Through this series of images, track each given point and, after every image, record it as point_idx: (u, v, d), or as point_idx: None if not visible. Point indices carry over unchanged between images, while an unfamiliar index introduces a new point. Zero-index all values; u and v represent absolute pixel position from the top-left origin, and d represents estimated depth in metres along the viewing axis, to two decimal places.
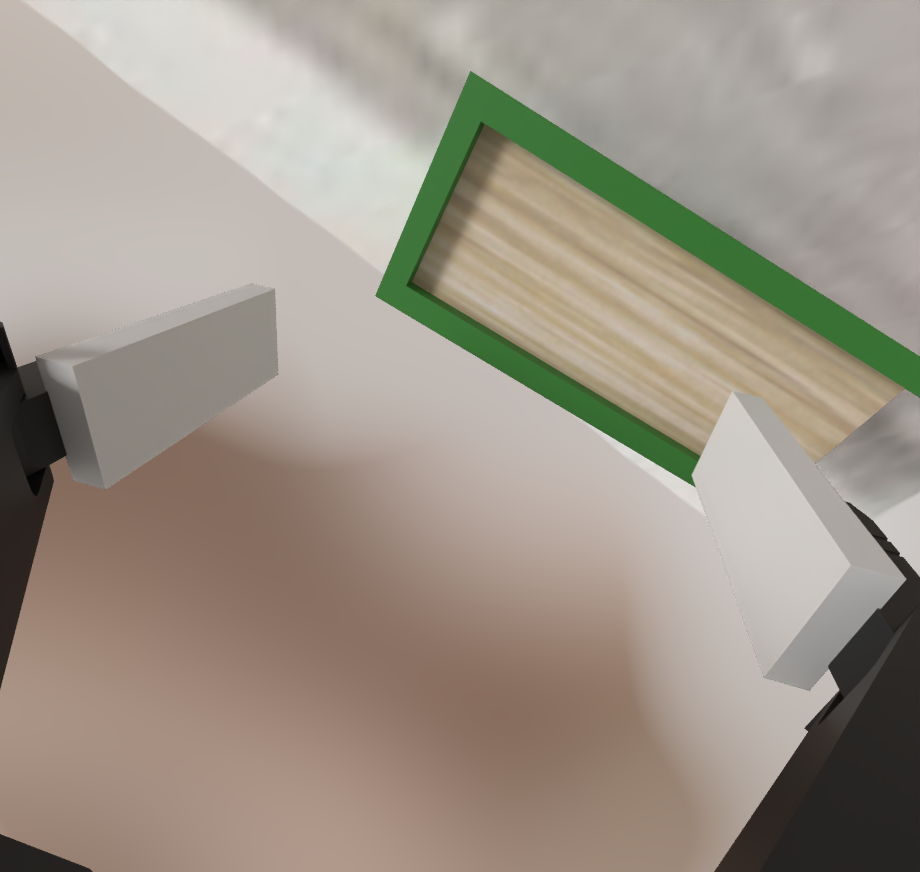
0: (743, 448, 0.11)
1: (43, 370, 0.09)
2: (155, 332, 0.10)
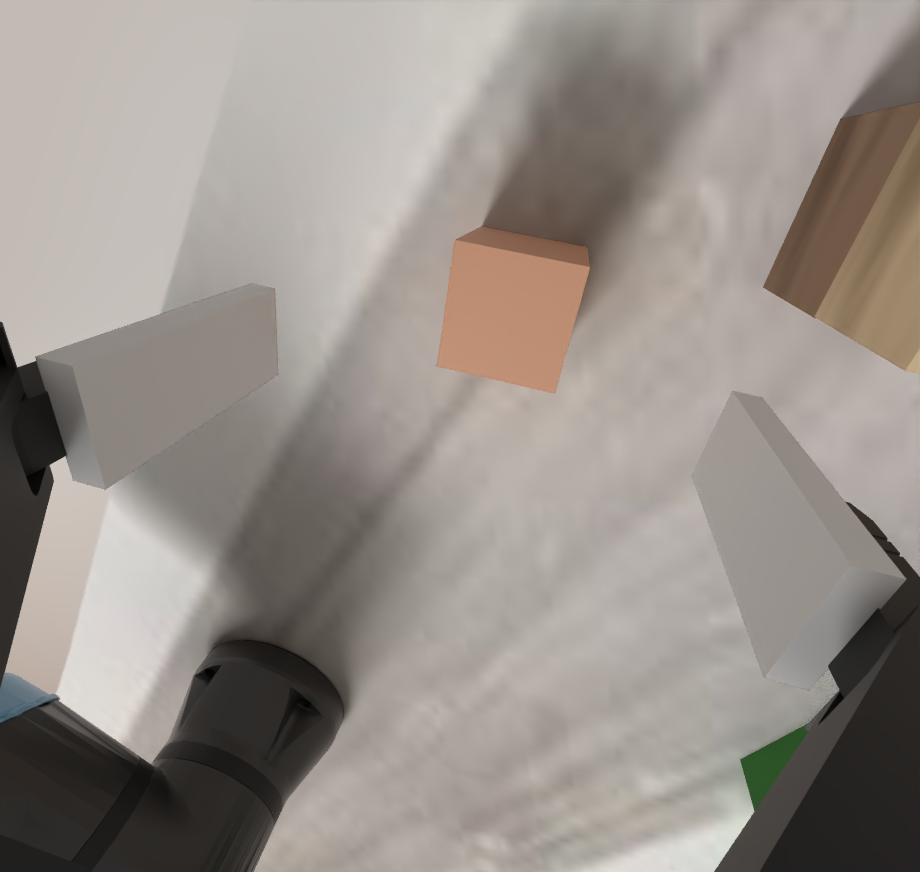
0: (743, 448, 0.11)
1: (43, 370, 0.09)
2: (155, 332, 0.10)
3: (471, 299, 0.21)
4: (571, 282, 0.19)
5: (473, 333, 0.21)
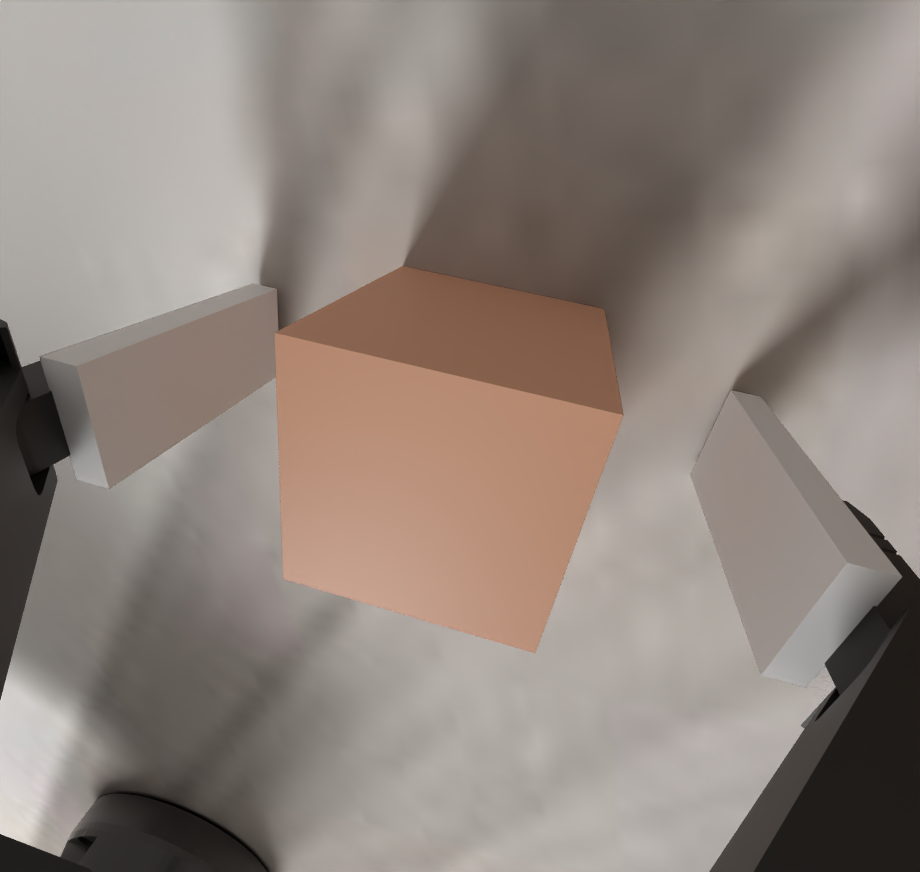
0: (741, 447, 0.11)
1: (47, 370, 0.09)
2: (158, 332, 0.10)
3: (335, 464, 0.09)
4: (573, 445, 0.07)
5: (349, 528, 0.09)
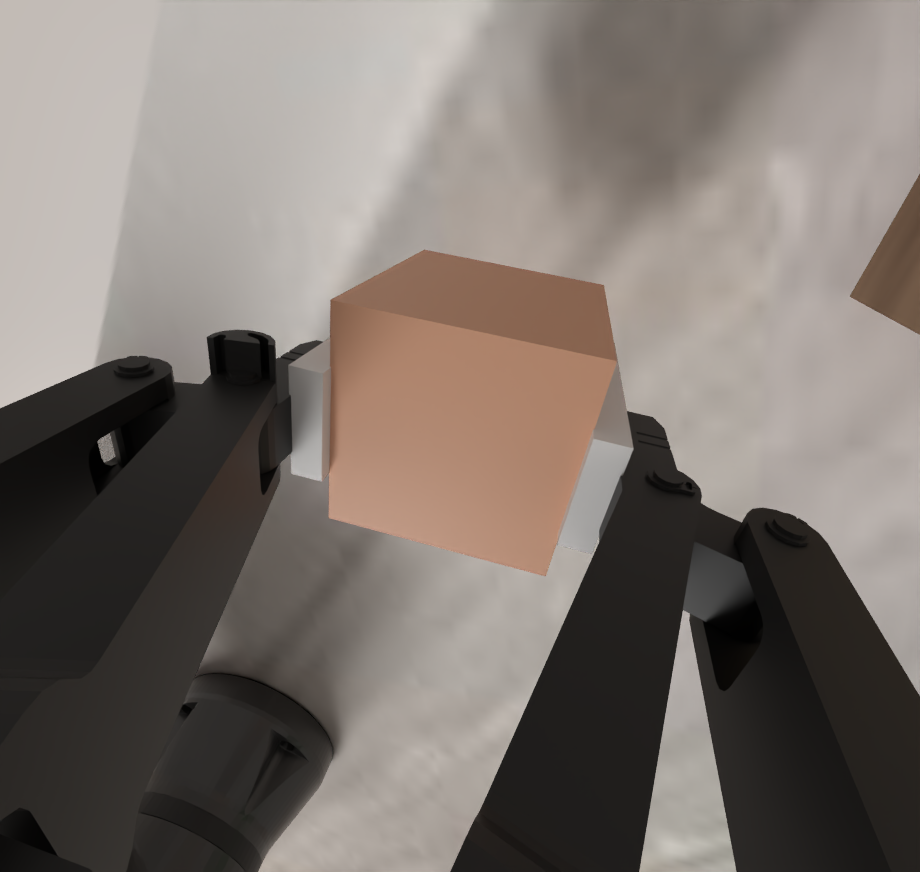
0: None
1: (292, 377, 0.10)
2: None
3: (377, 412, 0.10)
4: (577, 388, 0.09)
5: (388, 469, 0.11)
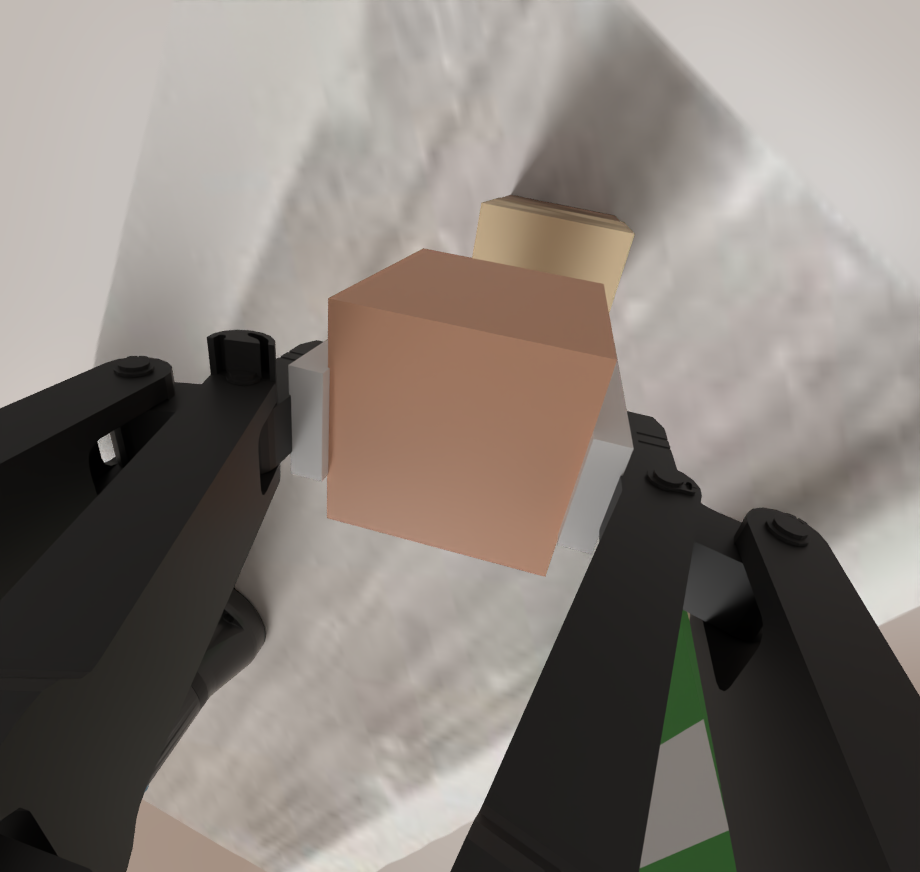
0: None
1: (292, 377, 0.10)
2: None
3: (375, 411, 0.10)
4: (576, 387, 0.09)
5: (386, 469, 0.11)
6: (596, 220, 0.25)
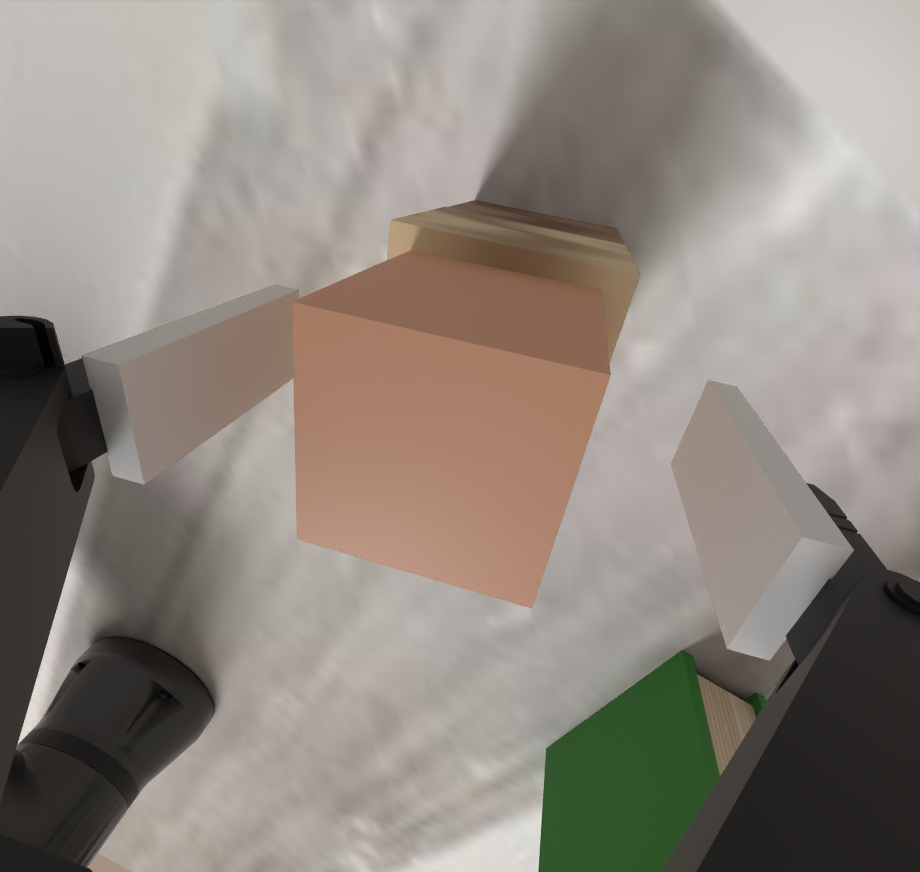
0: (715, 434, 0.12)
1: (89, 369, 0.09)
2: (191, 332, 0.11)
3: (346, 426, 0.09)
4: (565, 404, 0.08)
5: (359, 489, 0.10)
6: (582, 244, 0.16)
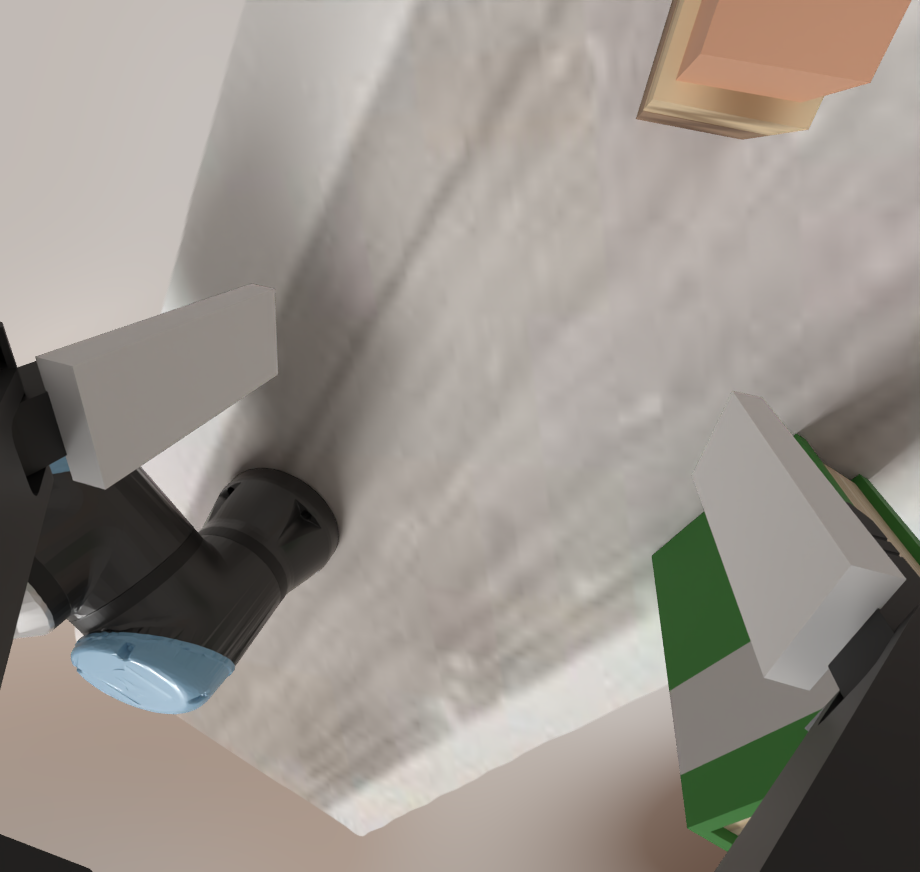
0: (743, 448, 0.11)
1: (43, 370, 0.09)
2: (155, 332, 0.10)
3: None
4: None
5: None
6: None
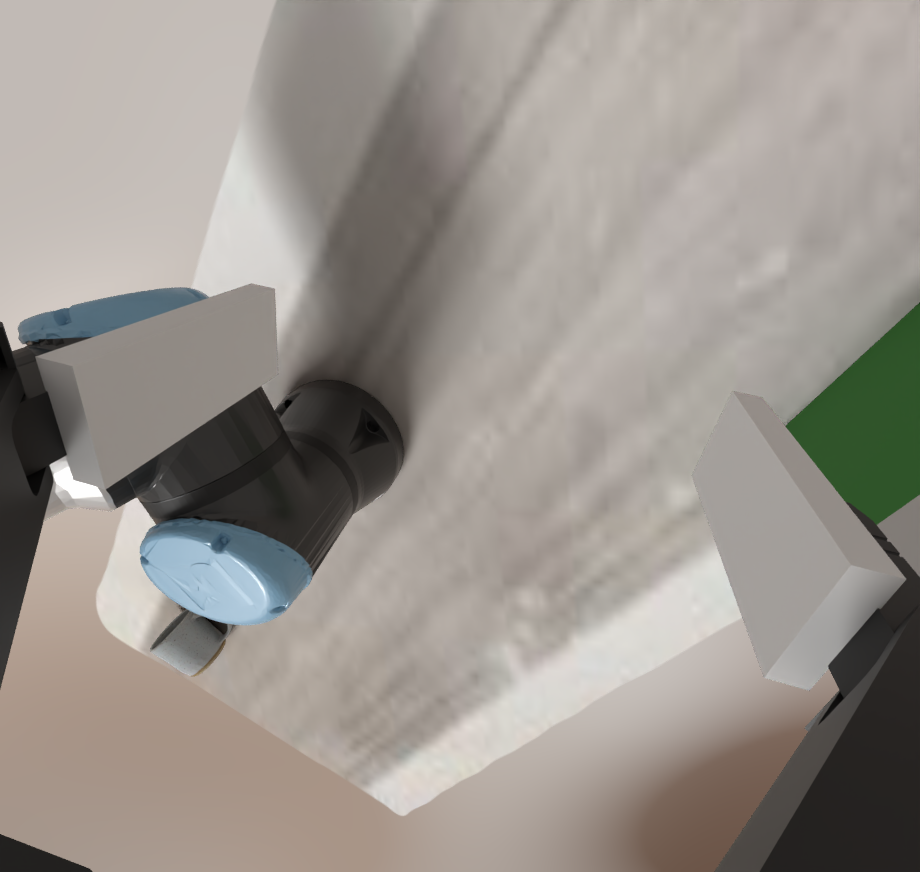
0: (743, 448, 0.11)
1: (43, 370, 0.09)
2: (155, 332, 0.10)
3: None
4: None
5: None
6: None
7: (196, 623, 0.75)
